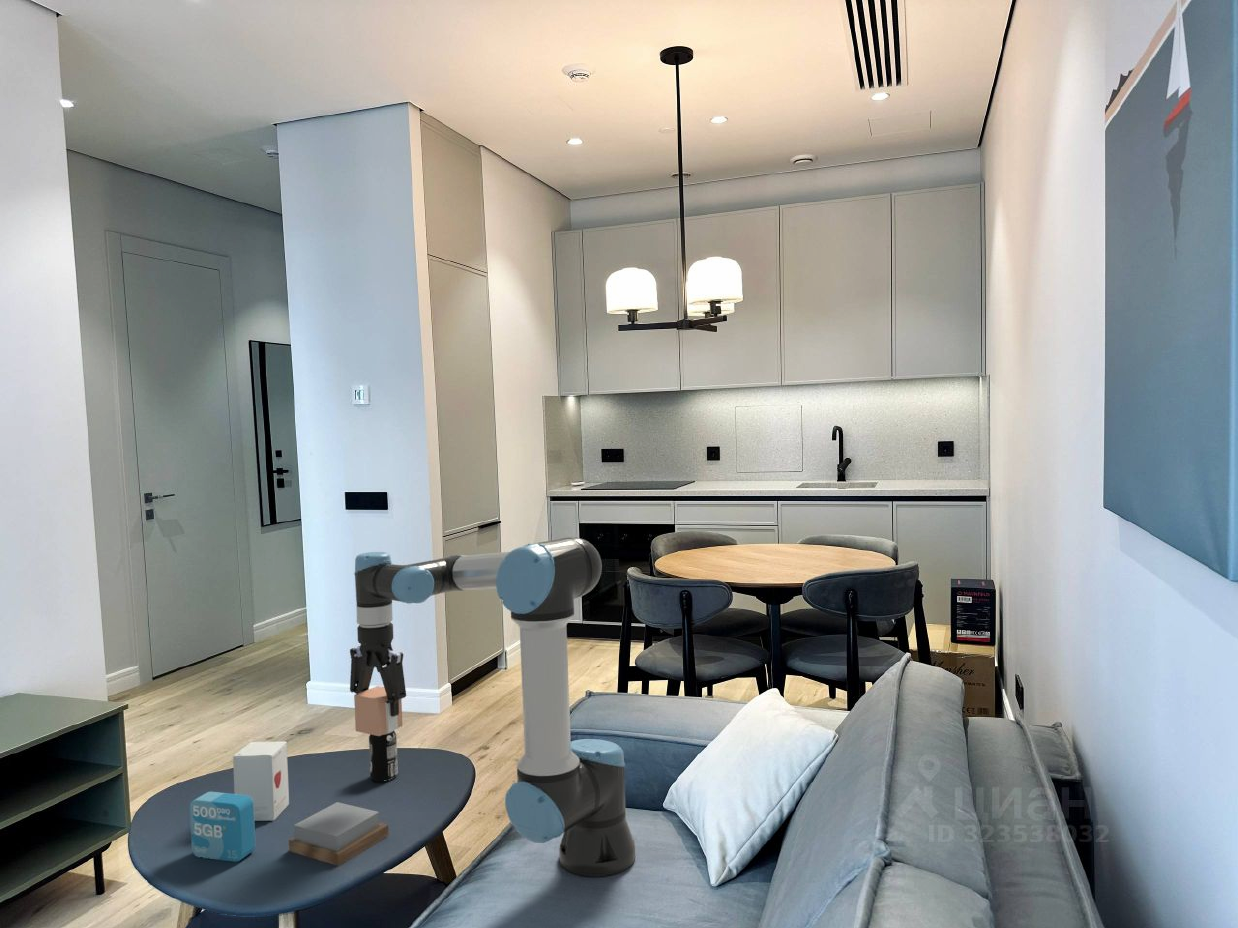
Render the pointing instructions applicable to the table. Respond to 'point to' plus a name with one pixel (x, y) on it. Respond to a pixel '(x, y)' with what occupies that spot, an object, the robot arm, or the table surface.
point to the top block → (336, 826)
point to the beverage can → (383, 756)
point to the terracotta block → (373, 711)
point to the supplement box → (263, 777)
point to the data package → (222, 826)
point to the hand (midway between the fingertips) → (379, 727)
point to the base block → (342, 854)
